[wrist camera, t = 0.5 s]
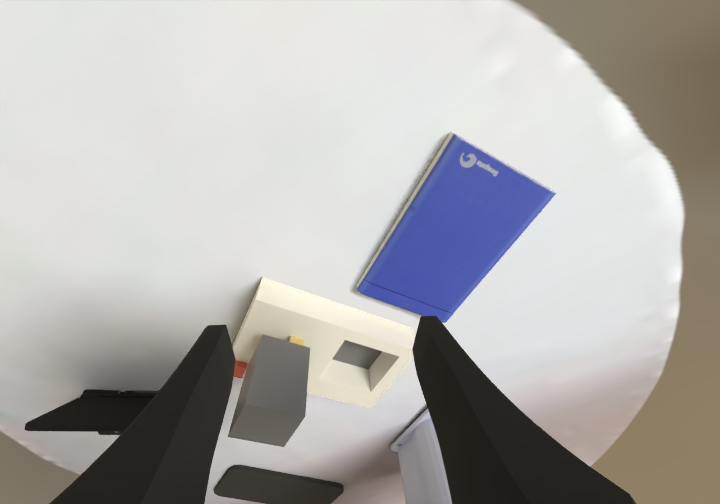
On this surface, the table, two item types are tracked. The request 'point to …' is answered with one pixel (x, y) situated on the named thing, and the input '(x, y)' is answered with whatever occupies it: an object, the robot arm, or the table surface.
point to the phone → (275, 487)
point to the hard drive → (452, 230)
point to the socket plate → (328, 342)
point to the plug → (272, 392)
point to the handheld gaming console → (95, 412)
